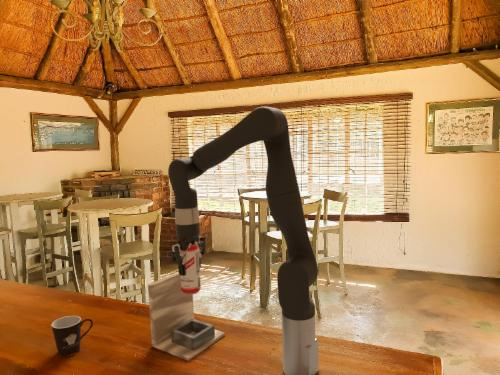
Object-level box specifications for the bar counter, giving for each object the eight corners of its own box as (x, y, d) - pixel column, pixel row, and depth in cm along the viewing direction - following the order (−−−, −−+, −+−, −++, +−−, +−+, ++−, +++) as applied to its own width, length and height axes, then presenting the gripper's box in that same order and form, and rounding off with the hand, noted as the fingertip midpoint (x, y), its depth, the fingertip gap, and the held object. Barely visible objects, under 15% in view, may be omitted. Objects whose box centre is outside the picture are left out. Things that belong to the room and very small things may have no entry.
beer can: (197, 296, 124) (194, 246, 122) (178, 295, 125) (175, 246, 123) (203, 288, 130) (200, 241, 128) (185, 287, 131) (182, 241, 129)
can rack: (152, 346, 128) (147, 284, 125) (190, 324, 142) (187, 268, 140) (188, 360, 119) (184, 294, 116) (224, 335, 133) (222, 275, 131)
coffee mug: (51, 360, 121) (48, 330, 120) (57, 346, 130) (54, 318, 128) (91, 354, 124) (89, 324, 123) (94, 340, 133) (92, 312, 131)
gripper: (179, 227, 116) (182, 281, 118) (211, 218, 128) (213, 267, 130) (162, 224, 121) (165, 277, 123) (194, 216, 132) (196, 264, 134)
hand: (190, 271), depth 126 cm, fingers closed on beer can, 6 cm apart
